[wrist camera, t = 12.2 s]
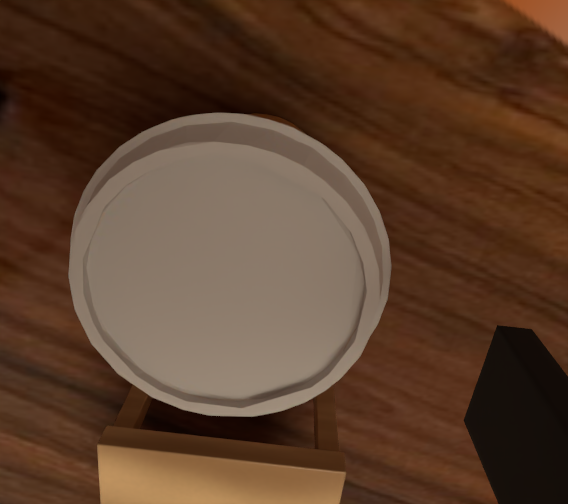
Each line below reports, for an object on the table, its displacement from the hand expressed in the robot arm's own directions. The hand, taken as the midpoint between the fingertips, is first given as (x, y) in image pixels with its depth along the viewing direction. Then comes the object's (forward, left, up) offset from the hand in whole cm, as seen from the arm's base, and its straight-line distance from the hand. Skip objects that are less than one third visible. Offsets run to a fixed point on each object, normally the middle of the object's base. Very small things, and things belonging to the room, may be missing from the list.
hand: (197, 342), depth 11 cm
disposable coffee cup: (0, 0, -15) cm, 15 cm away
